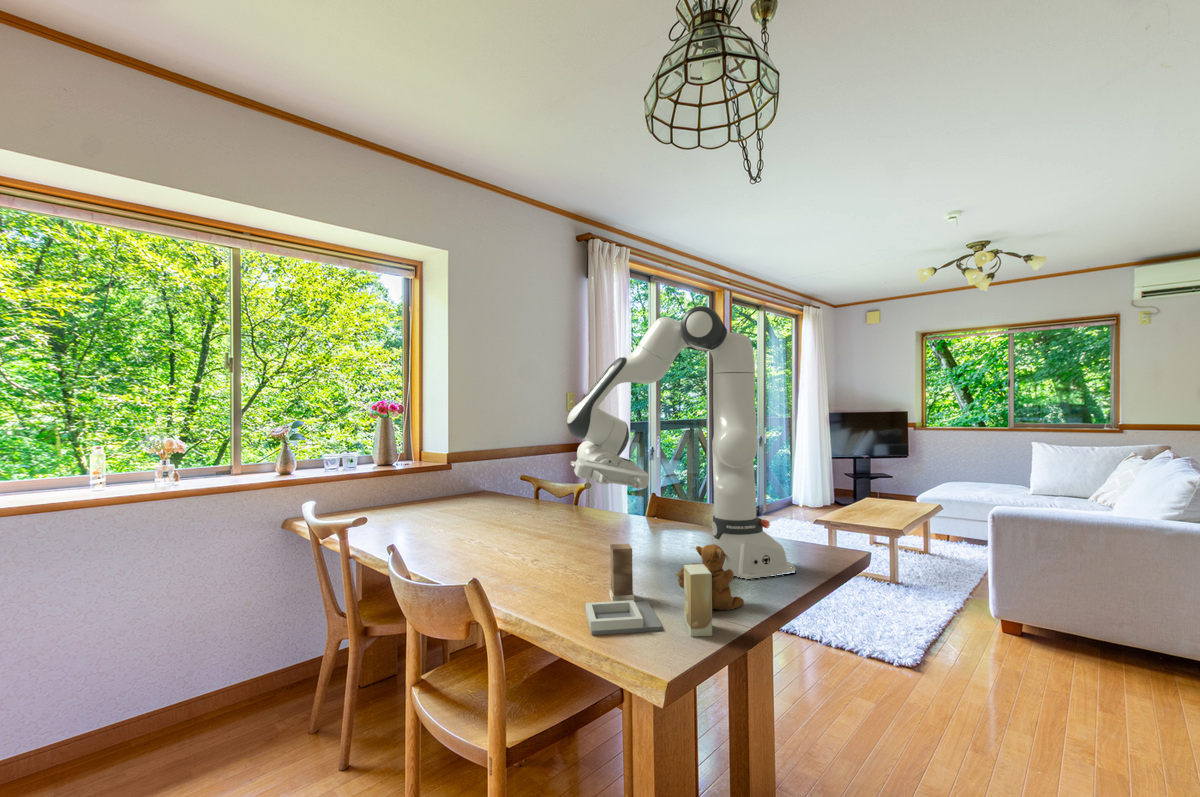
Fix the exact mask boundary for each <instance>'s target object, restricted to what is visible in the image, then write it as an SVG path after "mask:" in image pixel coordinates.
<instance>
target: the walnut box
mask: <svg viewBox="0 0 1200 797" xmlns="http://www.w3.org/2000/svg"><path fill="white" fill-rule="evenodd" d="M609 549H610V552H609V553H610V588H609V597H610V599H611V601H628V600H634V601H635V593H634V589H633V588H634V587H633V586H634V584H633V581H634V580H633V577H634V576H633V547H632V546H631V544H630V543H617V544H616V543H615V544H614V543H613V544H610V548H609Z"/></svg>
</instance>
